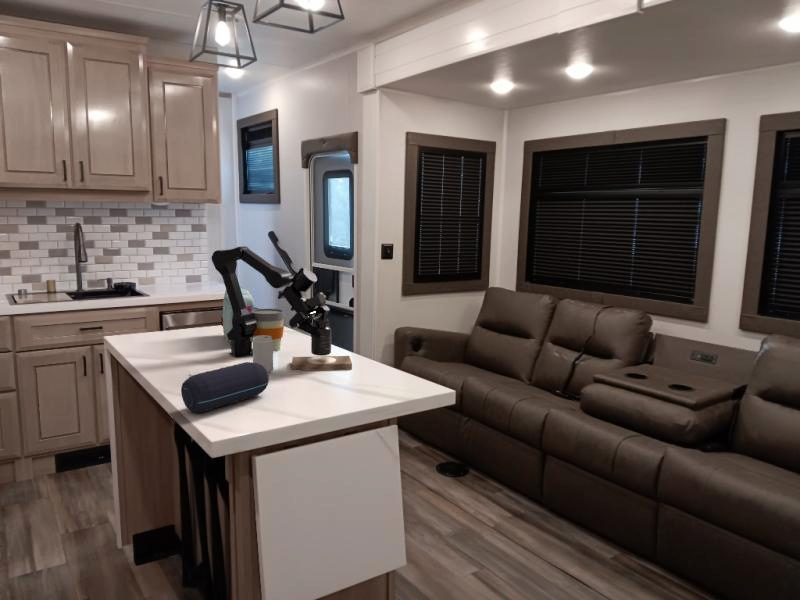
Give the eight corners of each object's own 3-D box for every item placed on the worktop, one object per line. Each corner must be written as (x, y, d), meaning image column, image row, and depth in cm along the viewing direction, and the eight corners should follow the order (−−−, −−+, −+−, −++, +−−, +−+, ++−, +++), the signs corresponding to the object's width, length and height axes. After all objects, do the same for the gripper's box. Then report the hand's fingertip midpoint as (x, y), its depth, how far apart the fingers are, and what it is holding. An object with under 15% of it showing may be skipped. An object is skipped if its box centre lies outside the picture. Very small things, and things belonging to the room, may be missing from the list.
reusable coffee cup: (288, 346, 229) (288, 309, 227) (279, 354, 216) (278, 314, 214) (257, 345, 230) (257, 307, 228) (246, 352, 218) (245, 313, 215)
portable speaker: (249, 389, 173) (249, 356, 172) (272, 396, 167) (272, 362, 166) (174, 411, 153) (172, 374, 151) (197, 420, 147) (196, 381, 146)
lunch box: (220, 334, 249) (219, 284, 246) (244, 332, 254) (243, 283, 250) (230, 347, 225) (229, 292, 222) (257, 345, 230) (256, 291, 227)
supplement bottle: (307, 352, 201) (307, 318, 199) (323, 350, 206) (323, 316, 204) (318, 356, 196) (319, 321, 194) (335, 354, 201) (335, 319, 199)
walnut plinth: (292, 370, 194) (292, 364, 194) (292, 362, 205) (292, 356, 205) (351, 369, 198) (352, 363, 197) (349, 361, 208) (349, 355, 208)
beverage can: (268, 375, 188) (267, 339, 186) (249, 374, 189) (249, 337, 188) (276, 370, 194) (276, 335, 192) (258, 369, 195) (257, 334, 194)
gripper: (297, 288, 190) (326, 325, 188) (325, 282, 207) (352, 316, 205) (276, 309, 194) (304, 346, 192) (306, 302, 211) (332, 335, 209)
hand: (324, 335), depth 199 cm, fingers closed on supplement bottle, 7 cm apart
